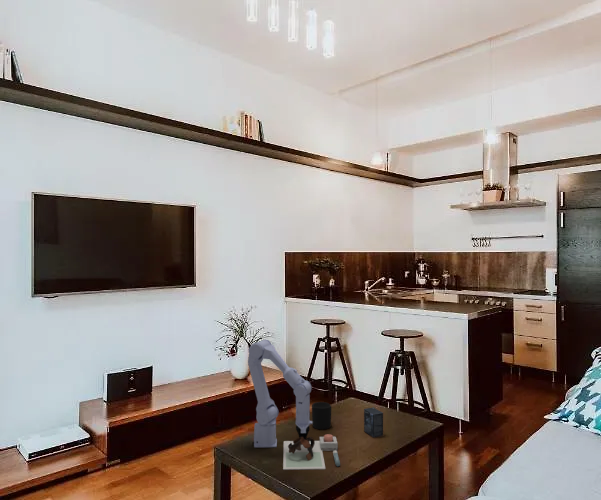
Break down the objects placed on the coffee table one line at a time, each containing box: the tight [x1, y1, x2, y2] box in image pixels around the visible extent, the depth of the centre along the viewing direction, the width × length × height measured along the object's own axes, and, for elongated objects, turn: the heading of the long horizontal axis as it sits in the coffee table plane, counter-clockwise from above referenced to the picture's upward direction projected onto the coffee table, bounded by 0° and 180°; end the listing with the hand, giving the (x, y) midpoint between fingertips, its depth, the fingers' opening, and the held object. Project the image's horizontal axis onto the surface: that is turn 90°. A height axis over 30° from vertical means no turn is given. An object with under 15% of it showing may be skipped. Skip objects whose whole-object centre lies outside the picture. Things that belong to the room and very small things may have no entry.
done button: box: [323, 433, 334, 442], centre depth 189 cm, size 4×4×3 cm
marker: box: [332, 450, 341, 467], centre depth 176 cm, size 2×10×2 cm, turn 2°
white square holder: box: [319, 436, 338, 452], centre depth 189 cm, size 7×7×3 cm
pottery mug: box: [288, 436, 316, 461], centre depth 181 cm, size 12×10×8 cm
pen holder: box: [311, 401, 332, 430], centre depth 213 cm, size 9×9×10 cm
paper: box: [282, 440, 326, 471], centre depth 182 cm, size 16×26×1 cm, turn 2°
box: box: [363, 407, 384, 438], centre depth 204 cm, size 8×6×11 cm
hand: (302, 444), depth 186 cm, fingers closed
